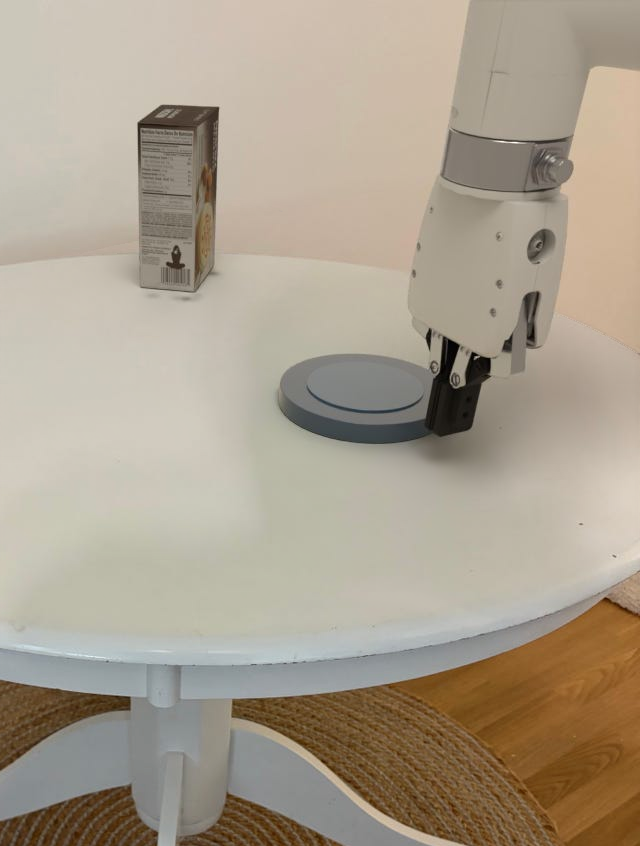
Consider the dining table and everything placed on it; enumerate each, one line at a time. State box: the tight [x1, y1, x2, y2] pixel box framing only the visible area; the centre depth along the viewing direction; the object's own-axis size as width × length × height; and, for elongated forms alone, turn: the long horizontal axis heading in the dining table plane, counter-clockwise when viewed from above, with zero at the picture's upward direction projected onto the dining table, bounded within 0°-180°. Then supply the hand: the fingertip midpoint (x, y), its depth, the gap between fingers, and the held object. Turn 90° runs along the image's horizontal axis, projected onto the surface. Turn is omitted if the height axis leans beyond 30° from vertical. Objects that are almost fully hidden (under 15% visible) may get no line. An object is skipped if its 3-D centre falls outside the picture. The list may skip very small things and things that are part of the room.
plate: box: [278, 353, 435, 444], centre depth 82 cm, size 14×14×2 cm
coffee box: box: [136, 104, 220, 293], centre depth 103 cm, size 9×6×16 cm
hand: (447, 428), depth 73 cm, fingers closed
